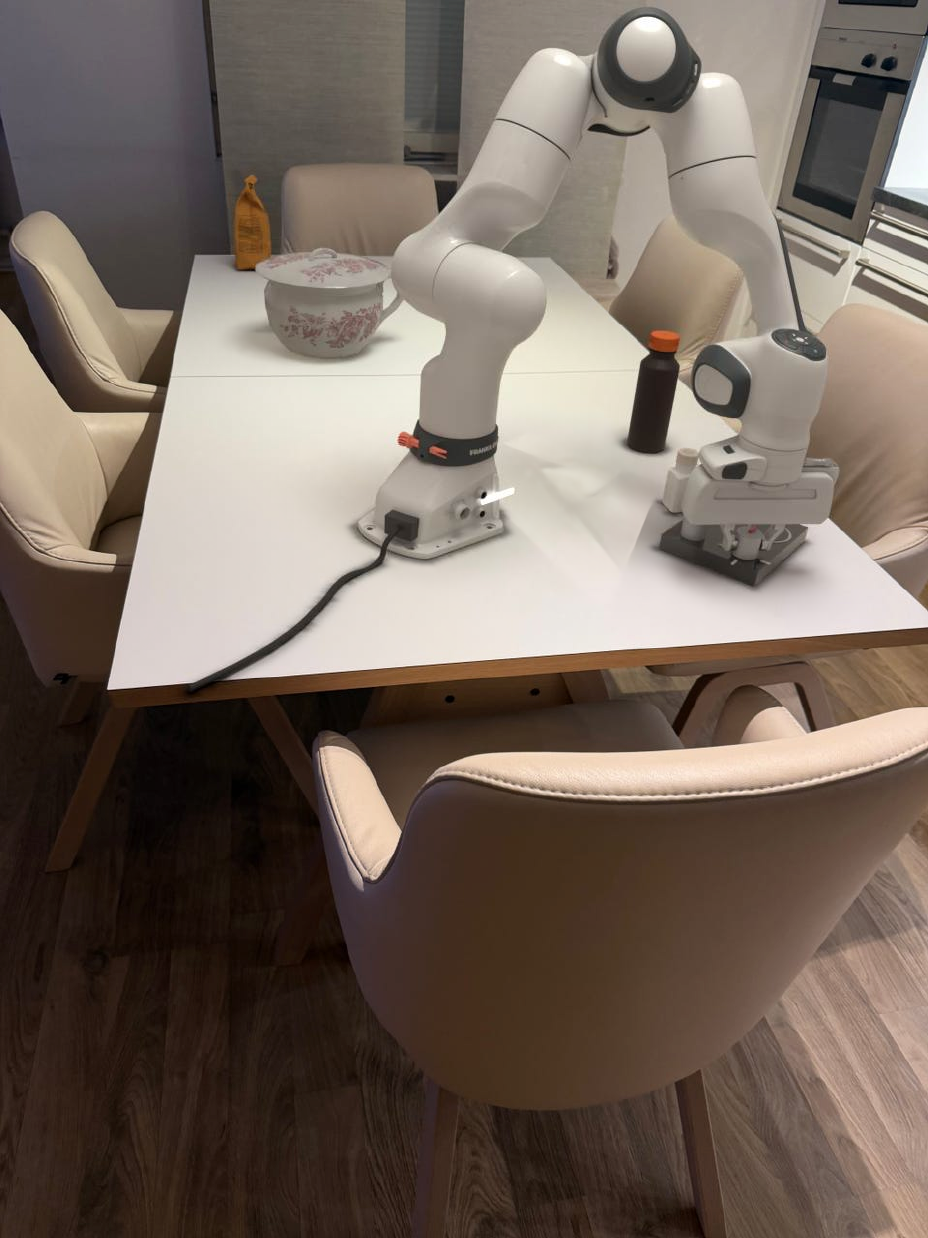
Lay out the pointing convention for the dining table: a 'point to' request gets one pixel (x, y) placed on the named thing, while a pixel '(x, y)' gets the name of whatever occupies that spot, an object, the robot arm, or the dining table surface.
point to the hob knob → (747, 543)
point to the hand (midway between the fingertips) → (745, 548)
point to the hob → (723, 561)
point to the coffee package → (251, 229)
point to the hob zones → (700, 531)
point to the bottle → (654, 394)
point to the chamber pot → (325, 301)
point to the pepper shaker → (679, 478)
